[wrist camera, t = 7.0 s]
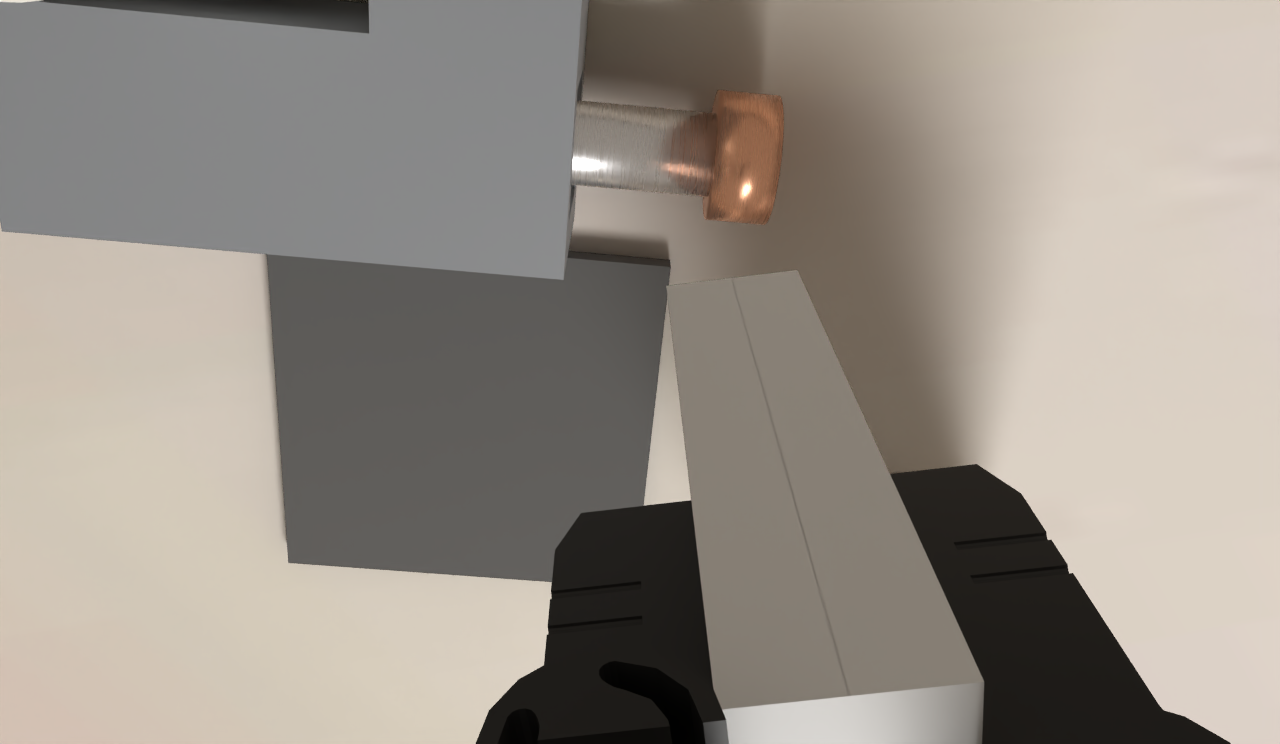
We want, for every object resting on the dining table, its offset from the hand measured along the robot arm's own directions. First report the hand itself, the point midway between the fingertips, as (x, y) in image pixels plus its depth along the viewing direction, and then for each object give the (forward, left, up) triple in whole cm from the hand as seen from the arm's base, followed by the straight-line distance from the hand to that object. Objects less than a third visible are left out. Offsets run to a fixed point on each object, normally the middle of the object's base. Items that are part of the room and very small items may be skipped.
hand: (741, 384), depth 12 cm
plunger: (-3, -1, -18) cm, 18 cm away
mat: (-6, -11, -19) cm, 23 cm away
